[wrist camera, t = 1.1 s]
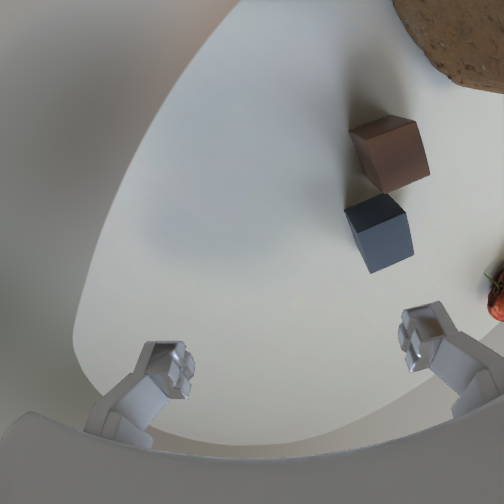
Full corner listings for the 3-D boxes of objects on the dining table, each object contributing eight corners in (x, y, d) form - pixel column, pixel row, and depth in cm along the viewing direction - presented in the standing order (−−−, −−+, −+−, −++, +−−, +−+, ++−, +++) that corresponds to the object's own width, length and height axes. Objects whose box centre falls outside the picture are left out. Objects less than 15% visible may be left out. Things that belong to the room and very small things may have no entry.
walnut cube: (347, 131, 20) (364, 140, 16) (391, 114, 19) (416, 120, 15) (365, 177, 22) (384, 195, 18) (406, 160, 21) (431, 175, 17)
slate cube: (343, 209, 24) (356, 233, 20) (385, 191, 22) (405, 212, 19) (357, 247, 26) (370, 274, 22) (396, 230, 24) (414, 254, 21)
